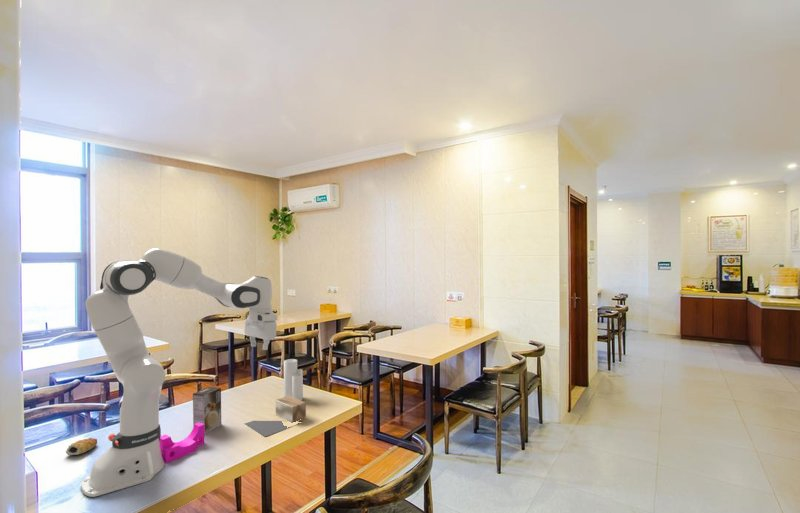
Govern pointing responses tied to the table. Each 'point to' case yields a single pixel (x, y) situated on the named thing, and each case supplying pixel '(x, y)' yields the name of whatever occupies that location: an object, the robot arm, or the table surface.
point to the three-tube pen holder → (293, 379)
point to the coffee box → (207, 408)
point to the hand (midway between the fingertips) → (259, 348)
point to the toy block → (181, 444)
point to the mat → (266, 427)
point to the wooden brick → (290, 409)
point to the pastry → (81, 446)
